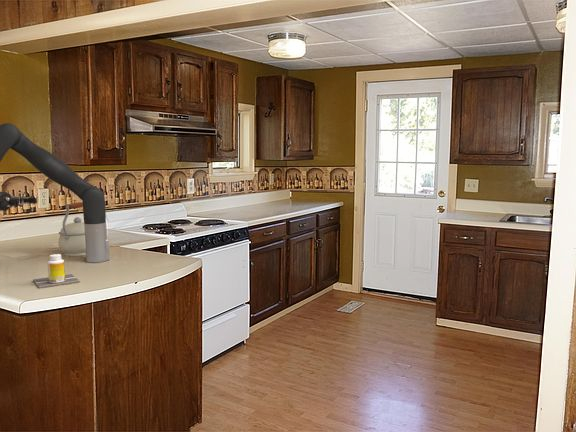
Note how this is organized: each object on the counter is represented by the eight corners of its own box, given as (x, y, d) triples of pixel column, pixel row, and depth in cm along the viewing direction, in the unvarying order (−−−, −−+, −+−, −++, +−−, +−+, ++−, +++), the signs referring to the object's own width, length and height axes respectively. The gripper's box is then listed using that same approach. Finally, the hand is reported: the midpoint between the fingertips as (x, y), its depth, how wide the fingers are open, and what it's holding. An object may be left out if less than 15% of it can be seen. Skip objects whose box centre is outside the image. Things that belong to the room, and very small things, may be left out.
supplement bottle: (68, 281, 192) (66, 254, 191) (52, 284, 188) (50, 257, 187) (61, 279, 196) (59, 253, 195) (46, 282, 192) (44, 255, 191)
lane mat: (71, 275, 205) (71, 273, 205) (79, 282, 193) (79, 280, 193) (32, 280, 197) (32, 279, 197) (39, 288, 185) (39, 286, 185)
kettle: (83, 258, 238) (80, 205, 235) (48, 257, 242) (44, 204, 239) (112, 248, 263) (109, 199, 259) (80, 247, 266) (76, 199, 263)
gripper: (-21, 193, 197) (11, 193, 191) (10, 190, 210) (41, 190, 204) (-19, 212, 198) (12, 213, 192) (12, 208, 211) (42, 209, 205)
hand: (27, 201), depth 198 cm, fingers open, 8 cm apart
